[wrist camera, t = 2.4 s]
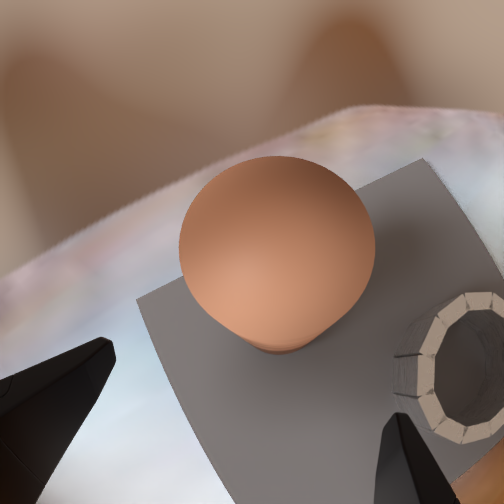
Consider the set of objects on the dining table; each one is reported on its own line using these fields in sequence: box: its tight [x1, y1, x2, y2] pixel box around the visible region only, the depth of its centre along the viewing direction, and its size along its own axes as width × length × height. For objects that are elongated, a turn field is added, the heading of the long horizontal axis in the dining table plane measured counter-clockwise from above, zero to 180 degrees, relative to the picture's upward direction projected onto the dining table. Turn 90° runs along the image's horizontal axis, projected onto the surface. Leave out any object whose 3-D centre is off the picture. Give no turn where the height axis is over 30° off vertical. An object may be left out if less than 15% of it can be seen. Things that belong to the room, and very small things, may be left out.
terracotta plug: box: [179, 156, 375, 355], centre depth 14 cm, size 5×5×12 cm
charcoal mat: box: [136, 158, 504, 504], centre depth 18 cm, size 22×24×1 cm
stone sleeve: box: [391, 292, 504, 444], centre depth 15 cm, size 8×8×4 cm
